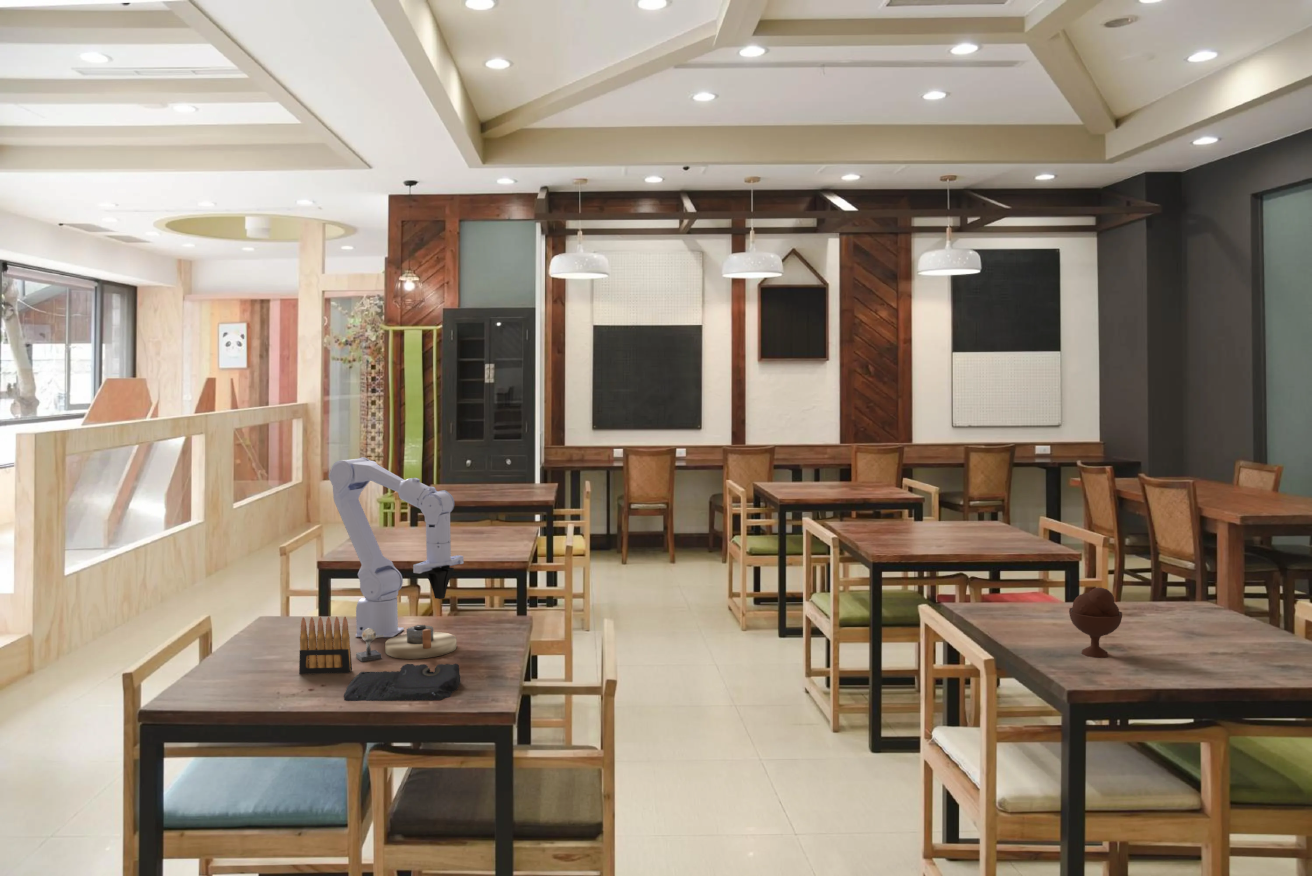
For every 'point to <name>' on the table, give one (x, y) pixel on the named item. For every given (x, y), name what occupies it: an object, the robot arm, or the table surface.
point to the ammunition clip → (324, 648)
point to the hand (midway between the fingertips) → (439, 598)
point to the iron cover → (417, 634)
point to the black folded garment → (405, 684)
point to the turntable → (421, 646)
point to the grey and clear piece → (369, 646)
